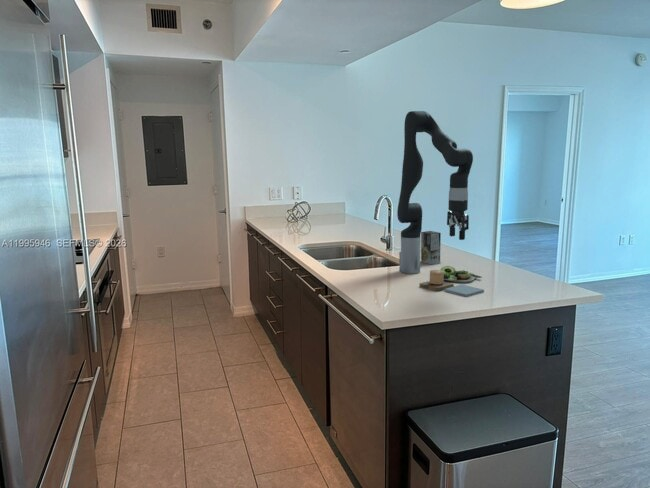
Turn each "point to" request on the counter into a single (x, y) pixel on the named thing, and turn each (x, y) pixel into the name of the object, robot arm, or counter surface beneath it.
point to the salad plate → (457, 275)
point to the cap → (436, 277)
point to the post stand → (436, 286)
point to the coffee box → (430, 247)
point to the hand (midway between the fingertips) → (456, 237)
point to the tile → (464, 290)
